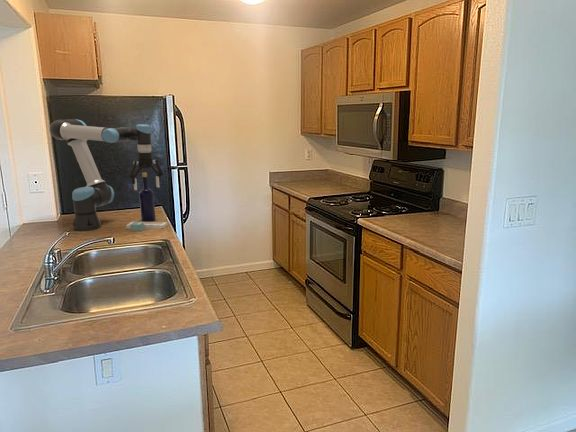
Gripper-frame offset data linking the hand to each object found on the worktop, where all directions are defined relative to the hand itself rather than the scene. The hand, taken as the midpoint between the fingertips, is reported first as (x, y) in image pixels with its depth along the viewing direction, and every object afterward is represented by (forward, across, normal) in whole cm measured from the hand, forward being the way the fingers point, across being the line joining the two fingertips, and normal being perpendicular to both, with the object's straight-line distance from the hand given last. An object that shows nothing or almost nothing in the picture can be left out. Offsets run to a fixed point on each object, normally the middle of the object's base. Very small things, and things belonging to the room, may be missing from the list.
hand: (146, 188), depth 251 cm
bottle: (+23, +5, +12) cm, 27 cm away
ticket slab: (+22, -2, -2) cm, 23 cm away
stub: (+23, -9, -5) cm, 25 cm away
